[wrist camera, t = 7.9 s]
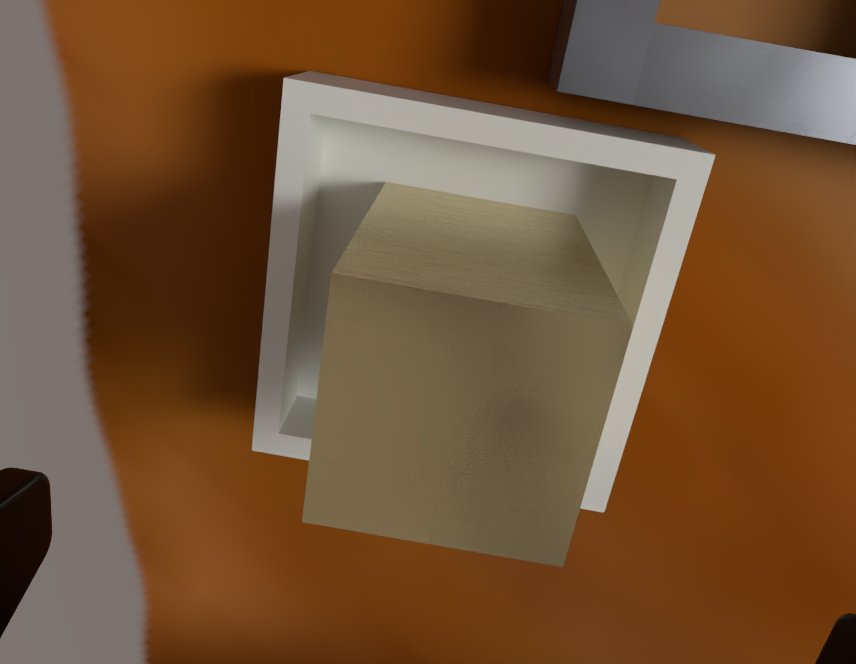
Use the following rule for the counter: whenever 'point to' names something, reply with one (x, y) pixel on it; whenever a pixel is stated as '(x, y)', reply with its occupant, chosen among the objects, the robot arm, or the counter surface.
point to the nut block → (464, 376)
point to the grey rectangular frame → (700, 71)
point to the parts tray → (470, 176)
